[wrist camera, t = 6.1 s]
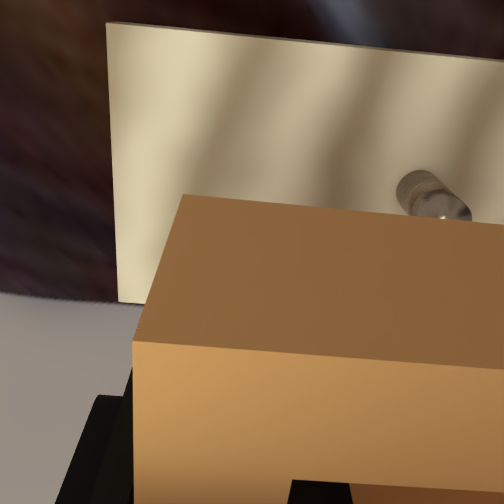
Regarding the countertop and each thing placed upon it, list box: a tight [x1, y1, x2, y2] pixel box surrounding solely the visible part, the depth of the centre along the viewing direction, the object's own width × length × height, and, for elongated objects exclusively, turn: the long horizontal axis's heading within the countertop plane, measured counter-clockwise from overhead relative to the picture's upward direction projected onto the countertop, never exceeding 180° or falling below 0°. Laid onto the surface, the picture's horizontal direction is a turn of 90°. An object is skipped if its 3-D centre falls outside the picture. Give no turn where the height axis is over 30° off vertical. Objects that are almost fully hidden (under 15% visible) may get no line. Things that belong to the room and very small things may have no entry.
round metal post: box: [396, 170, 472, 222], centre depth 25 cm, size 2×2×4 cm
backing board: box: [106, 21, 504, 304], centre depth 28 cm, size 26×16×2 cm, turn 85°
